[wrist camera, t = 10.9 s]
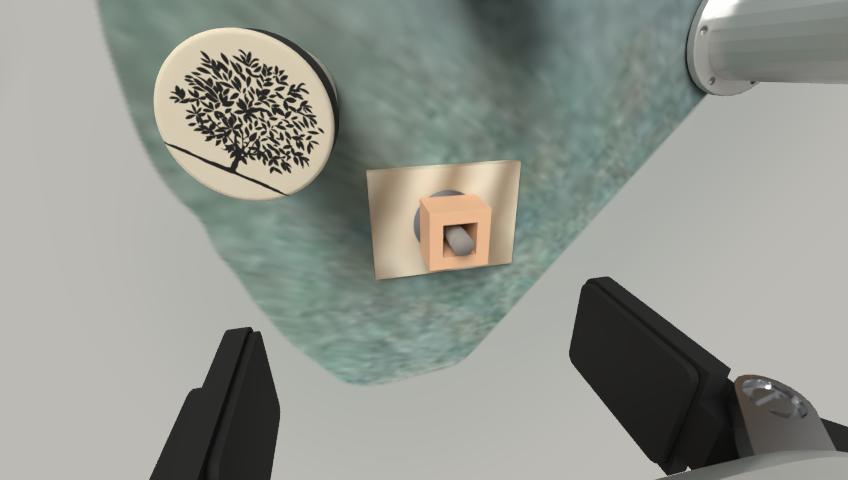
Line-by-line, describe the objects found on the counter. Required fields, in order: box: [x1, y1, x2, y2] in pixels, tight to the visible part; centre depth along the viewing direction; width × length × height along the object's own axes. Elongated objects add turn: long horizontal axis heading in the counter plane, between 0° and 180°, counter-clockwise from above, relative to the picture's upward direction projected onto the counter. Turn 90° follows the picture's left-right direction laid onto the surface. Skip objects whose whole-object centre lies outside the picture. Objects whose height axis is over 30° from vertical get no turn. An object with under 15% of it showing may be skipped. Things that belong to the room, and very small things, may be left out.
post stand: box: [366, 160, 521, 280], centre depth 37 cm, size 16×12×7 cm
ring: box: [420, 194, 492, 271], centre depth 37 cm, size 6×6×4 cm
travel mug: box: [154, 28, 339, 201], centre depth 24 cm, size 8×8×18 cm
